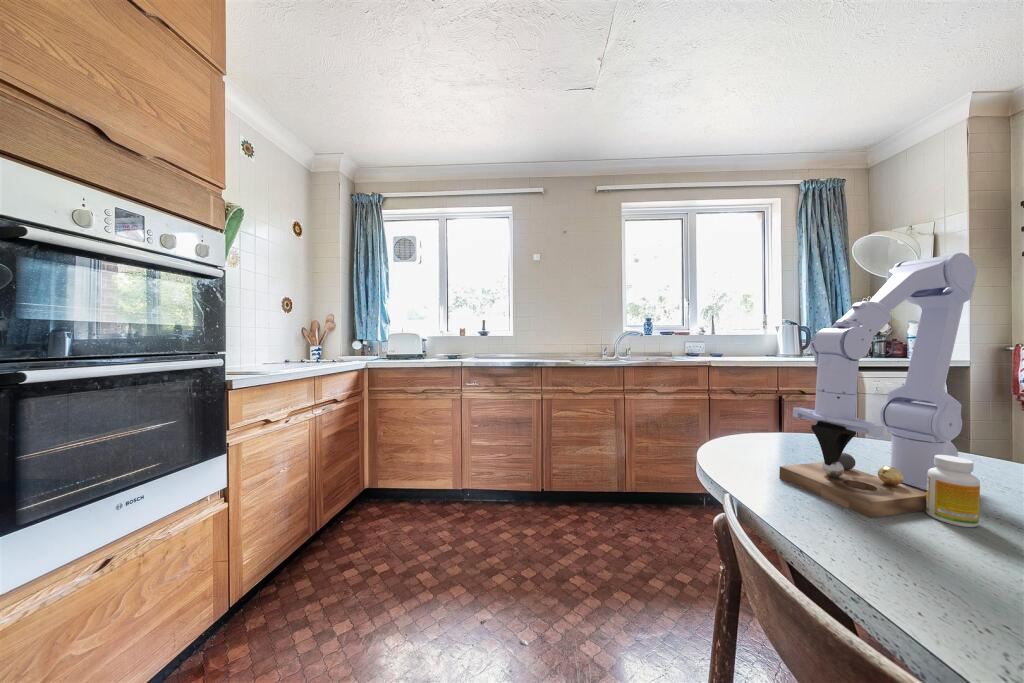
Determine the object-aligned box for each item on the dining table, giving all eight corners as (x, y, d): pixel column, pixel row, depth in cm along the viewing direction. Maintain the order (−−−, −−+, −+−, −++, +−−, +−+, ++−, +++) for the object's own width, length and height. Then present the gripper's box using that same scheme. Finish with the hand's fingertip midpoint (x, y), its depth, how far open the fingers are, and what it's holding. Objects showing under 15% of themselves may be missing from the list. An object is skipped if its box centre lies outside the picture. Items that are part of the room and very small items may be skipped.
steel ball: (836, 455, 70) (849, 465, 67) (834, 468, 71) (847, 480, 68) (818, 456, 71) (830, 467, 68) (816, 470, 72) (829, 482, 69)
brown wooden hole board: (830, 473, 78) (831, 461, 77) (931, 509, 62) (931, 494, 62) (779, 478, 75) (779, 466, 75) (870, 517, 59) (871, 502, 59)
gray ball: (841, 465, 75) (842, 450, 75) (859, 471, 72) (860, 455, 72) (829, 466, 74) (829, 451, 74) (846, 472, 71) (847, 456, 71)
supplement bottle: (990, 530, 56) (993, 466, 55) (947, 526, 57) (949, 463, 56) (955, 512, 61) (957, 454, 61) (916, 509, 62) (918, 452, 62)
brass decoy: (886, 480, 68) (886, 463, 68) (908, 487, 65) (908, 469, 64) (872, 481, 67) (873, 464, 67) (894, 489, 64) (894, 471, 64)
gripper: (782, 385, 75) (777, 452, 75) (863, 399, 61) (857, 480, 61) (810, 386, 77) (806, 451, 77) (895, 399, 62) (890, 479, 63)
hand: (830, 464), depth 69 cm, fingers closed, pressing on steel ball
